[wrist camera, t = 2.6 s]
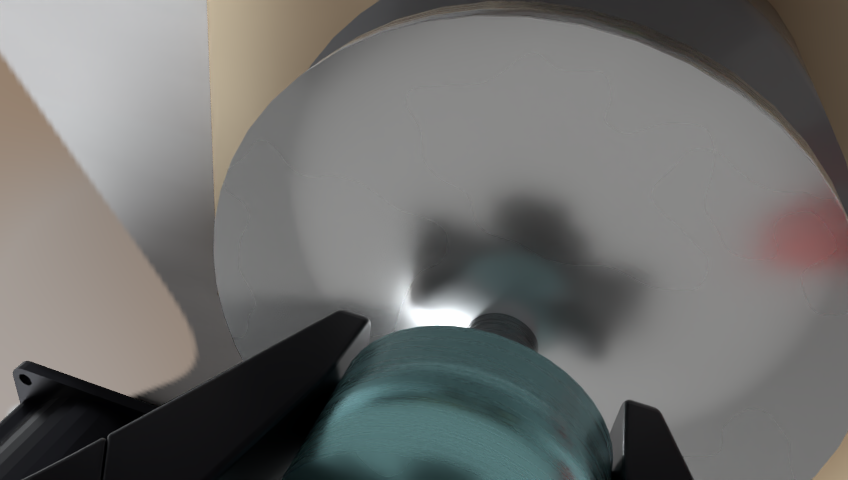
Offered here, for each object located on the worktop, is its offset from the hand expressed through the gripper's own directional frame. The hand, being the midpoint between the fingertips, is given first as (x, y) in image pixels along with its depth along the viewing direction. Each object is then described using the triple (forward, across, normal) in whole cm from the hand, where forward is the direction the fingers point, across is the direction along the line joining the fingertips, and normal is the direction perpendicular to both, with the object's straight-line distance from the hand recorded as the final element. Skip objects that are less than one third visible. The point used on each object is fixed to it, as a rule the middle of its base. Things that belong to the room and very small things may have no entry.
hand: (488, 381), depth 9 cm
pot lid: (+1, 0, 0) cm, 1 cm away
